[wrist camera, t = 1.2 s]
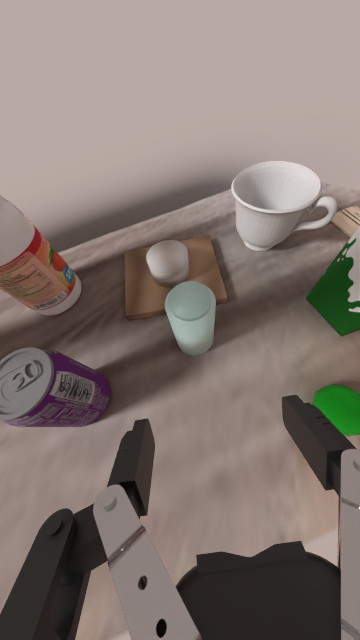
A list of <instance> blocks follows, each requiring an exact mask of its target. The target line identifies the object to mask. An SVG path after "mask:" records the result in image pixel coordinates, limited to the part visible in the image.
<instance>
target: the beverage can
mask: <svg viewBox="0 0 360 640" xmlns="http://www.w3.org/2000/svg"><path fill="white" fill-rule="evenodd" d="M109 400H110V385H109V382H108V380H107V379H106V377H105V376H104V375H103V374H101V373H99V372H97V371H95V370H93V369H91V368H89V367H87V366H85V365H83V364H81V363H79V362H77V361H75V360H73V359H71V358H69V357H67V356H65V355H63V354H61V353H59V352H57V351H54V350H50V349H38V348H34V347H27V348H22V349H18V350H16V351H14V352H12V353H10V354H8V355H7V356H6V357H4V358H3V359H2V360H1V361H0V420H2V421H4V422H5V423H7V424H9V425H11V426H16V427H82V426H86V425H89V424H91V423H93V422H94V421H96V420H97V419H98V418H99V417H100V416H101V415H102V414H103V413H104V411H105V409H106V408H107V406H108V403H109Z"/></svg>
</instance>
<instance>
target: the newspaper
mask: <svg viewBox="0 0 360 640" xmlns="http://www.w3.org/2000/svg"><path fill="white" fill-rule="evenodd" d="M330 222H332V223H333V224H334V225H335V226H336V227H338V228H339V229H340V230H341V231H342V232H344V233H345V234H346V235H347V236H349V237H350V238H351V237H352V236H353V234H354V233H355V232H356V230H357V229H358V228H359V226H360V209H359V208H358V207H349V208H346V209H343V210H341V211H339V212H337V213H336V214H335V216H334V217H333V219H332V220H331V221H330Z"/></svg>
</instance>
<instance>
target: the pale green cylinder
mask: <svg viewBox="0 0 360 640" xmlns="http://www.w3.org/2000/svg"><path fill="white" fill-rule="evenodd" d="M215 309H216V299H215V296H214V294H213V292H212V291H211V290H210V289H209V288H208V287H207V286H205V285H203V284H201V283H199V282H195V281H186V282H182V283H180V284H178V285H176V286H175V287H174V288H173V289H172V290H171V291H170V292H169V293H168V295H167V297H166V300H165V310H166V313H167V316H168V318H169V321H170V324H171V327H172V329H173V332H174V335H175V338H176V341H177V343H178V346H179V348H180V349H181V350H182V351H183V352H184V353H186V354H188V355H191V356H198V355H202V354H204V353H206V352H207V351H208V350H209V349H210V348H211V346H212V344H213V337H214V323H215Z"/></svg>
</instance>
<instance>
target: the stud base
mask: <svg viewBox="0 0 360 640" xmlns="http://www.w3.org/2000/svg"><path fill="white" fill-rule="evenodd" d="M186 281H195V282H199V283H201V284H203V285H205V286H207V287H208V288H209V289H210V290H211V291H212V292H213V294H214V296H215V299H216V305H218V304H224V303H227V299H228V297H227V293H226V290H225V287H224V283H223V280H222V277H221V273H220V270H219V266H218V263H217V260H216V256H215V253H214V250H213V246H212V243H211V240H210V236H209V235H208V236H202V237H197V238H192V239H187V240H182V241H176V240H164V241H161V242H158V243H156V244H155V245H153V246H150V247H145V248H140V249H135V250H130V251H125V316H126V317H127V319H128V320H134V319H139V318H145V317H151V316H156V315H162V314H167V313H166V310H165V300H166V297H167V295H168V293H169V292H170V291H171V290H172V289H173V288H174V287H175V286H176V285H178V284H180V283H182V282H186Z"/></svg>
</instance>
